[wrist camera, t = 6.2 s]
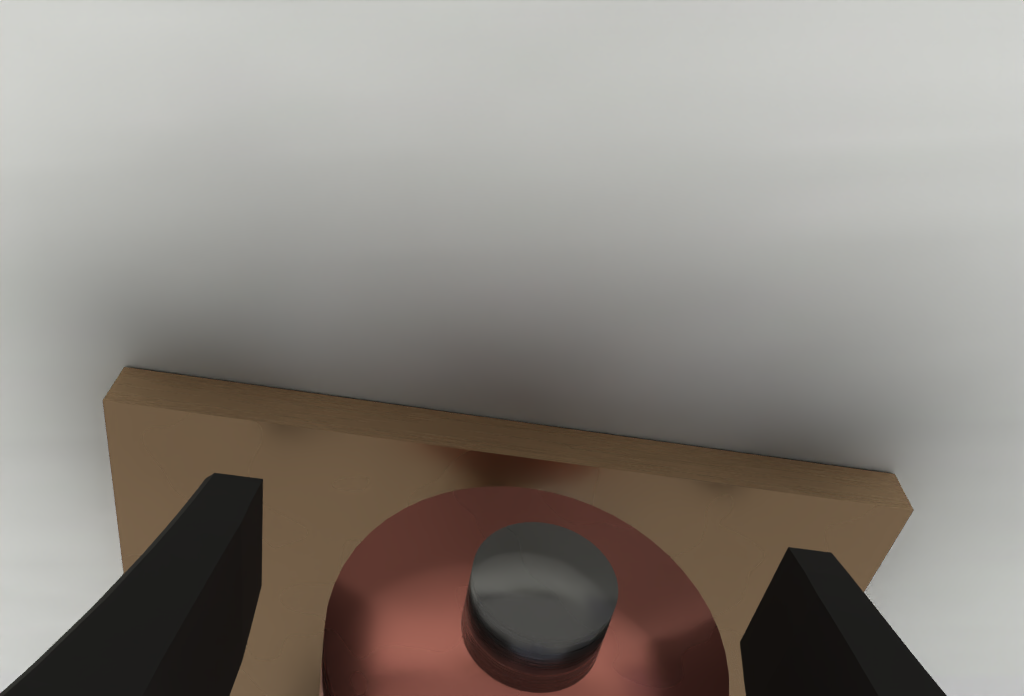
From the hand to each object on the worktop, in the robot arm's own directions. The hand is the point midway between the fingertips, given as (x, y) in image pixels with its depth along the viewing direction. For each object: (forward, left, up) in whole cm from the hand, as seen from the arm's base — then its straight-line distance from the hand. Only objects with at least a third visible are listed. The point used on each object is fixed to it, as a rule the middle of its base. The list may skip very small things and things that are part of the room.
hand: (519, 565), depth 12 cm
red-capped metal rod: (-4, 0, -1) cm, 5 cm away
